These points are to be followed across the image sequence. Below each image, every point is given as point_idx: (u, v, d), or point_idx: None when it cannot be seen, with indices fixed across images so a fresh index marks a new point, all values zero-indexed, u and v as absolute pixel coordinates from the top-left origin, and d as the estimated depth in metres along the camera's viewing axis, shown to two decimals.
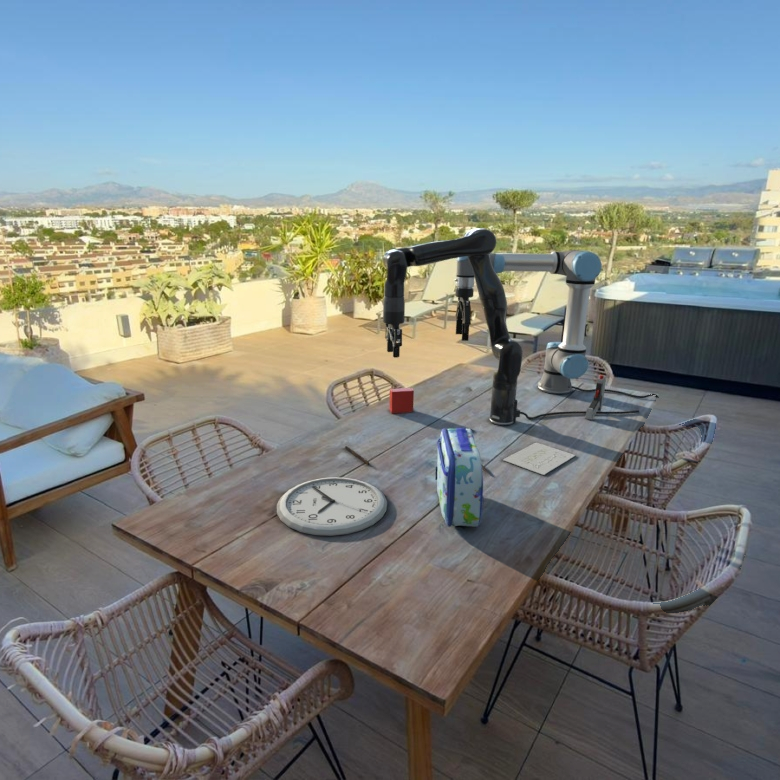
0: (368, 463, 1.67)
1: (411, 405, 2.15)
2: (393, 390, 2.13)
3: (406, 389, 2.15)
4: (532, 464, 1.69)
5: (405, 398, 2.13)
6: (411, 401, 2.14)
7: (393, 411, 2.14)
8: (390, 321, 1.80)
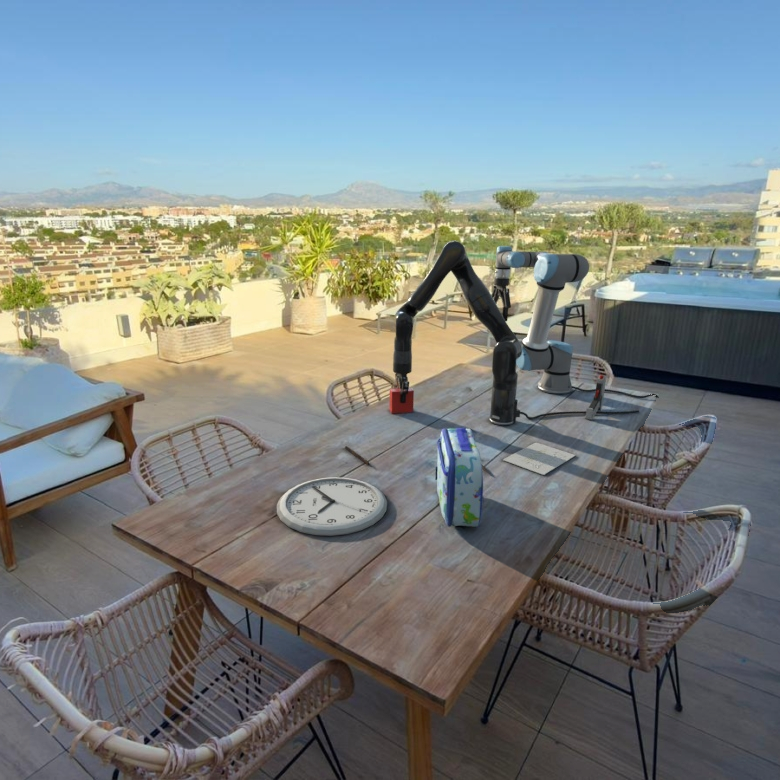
0: (368, 463, 1.67)
1: (411, 405, 2.15)
2: (393, 390, 2.13)
3: None
4: (532, 464, 1.69)
5: None
6: (411, 401, 2.14)
7: (393, 411, 2.14)
8: None
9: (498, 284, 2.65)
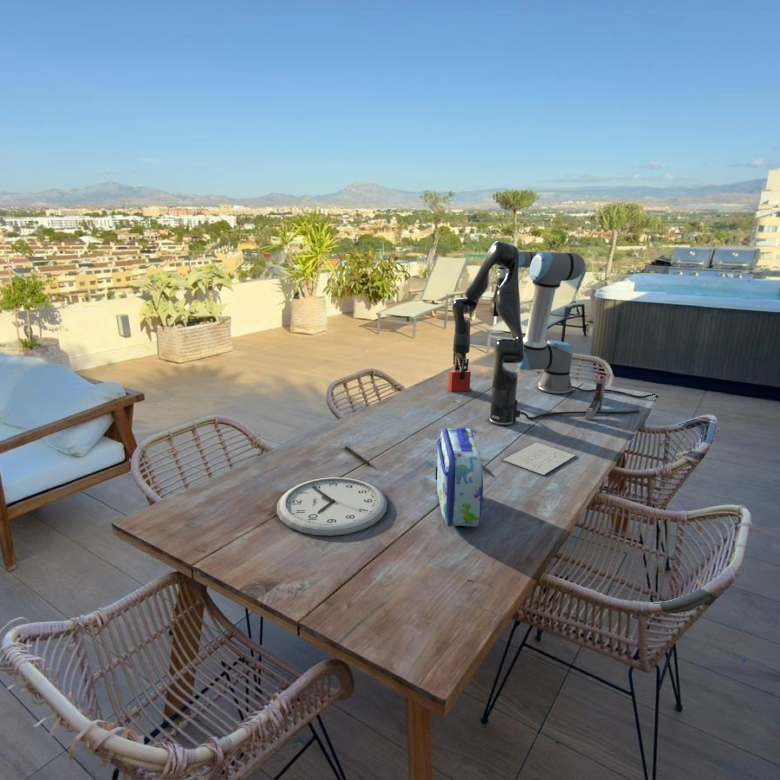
0: (368, 463, 1.67)
1: (468, 384, 2.44)
2: (453, 371, 2.42)
3: None
4: (532, 464, 1.69)
5: None
6: (468, 381, 2.44)
7: (452, 390, 2.43)
8: None
9: (500, 284, 2.68)
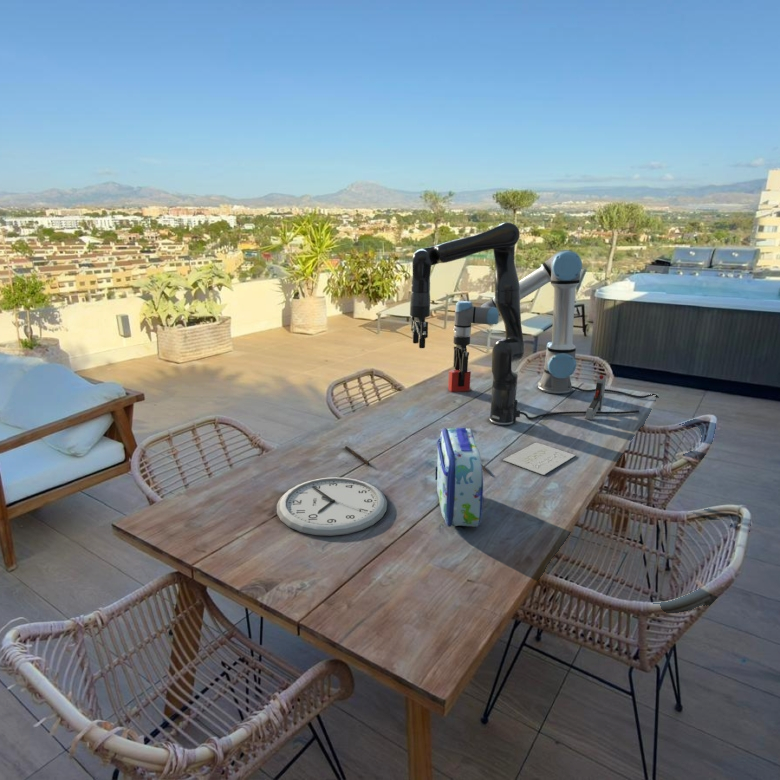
0: (368, 463, 1.67)
1: (468, 384, 2.44)
2: (452, 371, 2.42)
3: None
4: (532, 464, 1.69)
5: None
6: (468, 381, 2.44)
7: (452, 390, 2.43)
8: None
9: (457, 343, 2.37)
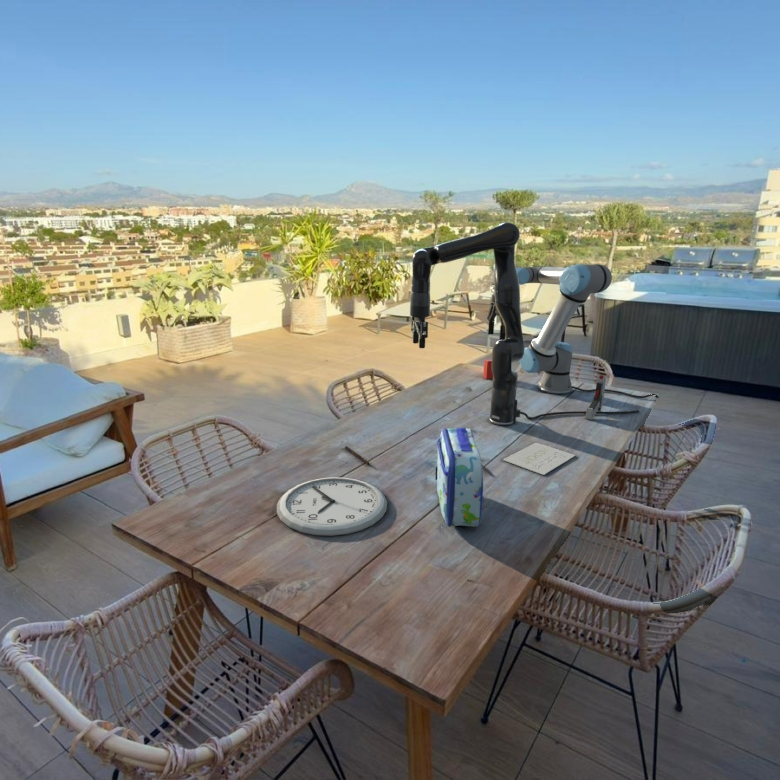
0: (368, 463, 1.67)
1: None
2: (488, 360, 2.64)
3: None
4: (532, 464, 1.69)
5: None
6: None
7: (487, 377, 2.65)
8: None
9: None
